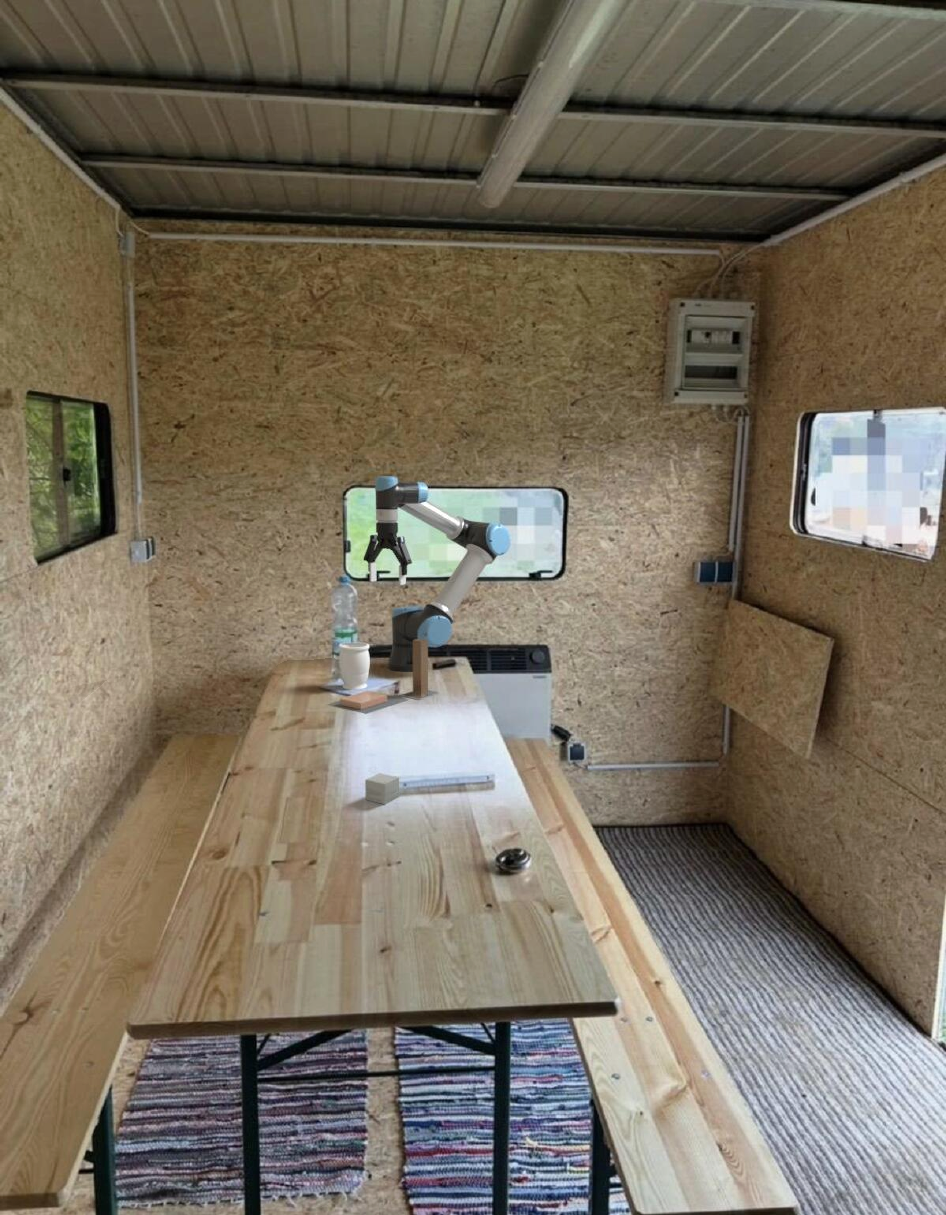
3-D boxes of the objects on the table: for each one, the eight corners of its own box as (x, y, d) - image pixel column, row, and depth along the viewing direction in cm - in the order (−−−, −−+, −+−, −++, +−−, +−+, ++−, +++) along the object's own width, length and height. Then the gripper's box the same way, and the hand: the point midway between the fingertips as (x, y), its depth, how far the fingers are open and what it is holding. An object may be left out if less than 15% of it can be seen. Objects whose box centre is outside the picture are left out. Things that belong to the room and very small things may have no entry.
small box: (400, 797, 198) (399, 776, 197) (384, 805, 193) (384, 784, 192) (379, 792, 201) (379, 772, 200) (364, 800, 196) (364, 779, 195)
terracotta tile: (366, 690, 281) (339, 698, 272) (387, 695, 276) (360, 703, 266) (366, 697, 282) (340, 705, 272) (387, 701, 276) (361, 710, 267)
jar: (335, 685, 298) (334, 643, 296) (364, 682, 303) (364, 640, 300) (344, 693, 289) (343, 649, 287) (374, 689, 293) (373, 646, 291)
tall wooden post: (420, 691, 291) (420, 636, 288) (439, 695, 287) (439, 638, 284) (401, 697, 284) (400, 640, 280) (420, 701, 279) (419, 643, 276)
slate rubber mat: (370, 693, 289) (370, 691, 289) (409, 701, 279) (409, 699, 279) (326, 706, 273) (326, 704, 273) (366, 715, 263) (366, 713, 263)
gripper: (352, 520, 302) (353, 581, 305) (407, 523, 287) (407, 587, 291) (367, 519, 308) (368, 579, 311) (421, 522, 293) (422, 584, 297)
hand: (387, 583), depth 301 cm, fingers open, 13 cm apart
